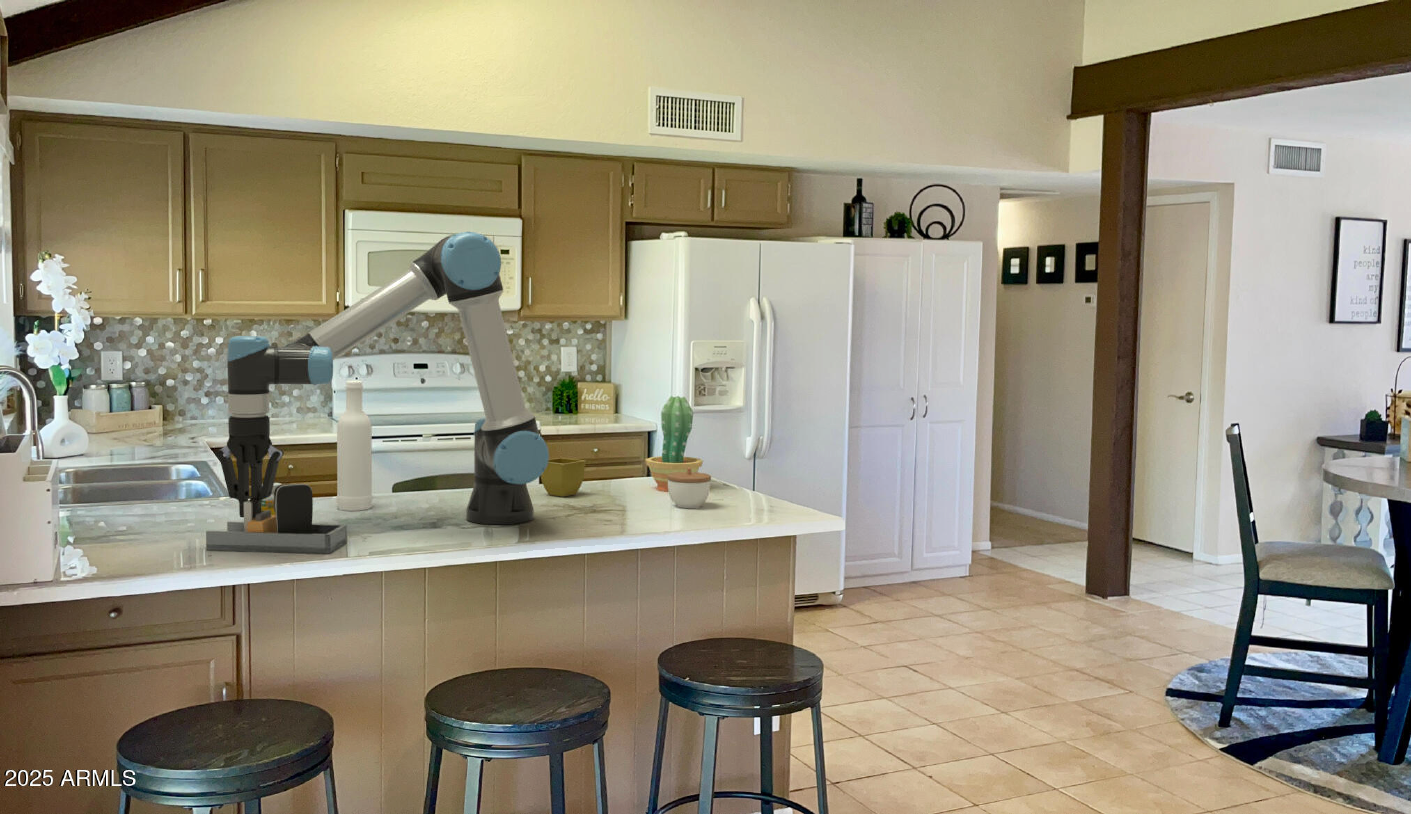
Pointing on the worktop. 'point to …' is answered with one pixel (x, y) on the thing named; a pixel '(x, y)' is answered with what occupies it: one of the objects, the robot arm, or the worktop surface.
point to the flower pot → (563, 476)
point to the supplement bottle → (269, 501)
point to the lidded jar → (688, 488)
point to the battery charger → (293, 508)
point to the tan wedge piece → (263, 523)
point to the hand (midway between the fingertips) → (250, 533)
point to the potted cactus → (673, 442)
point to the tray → (278, 540)
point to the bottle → (354, 453)
